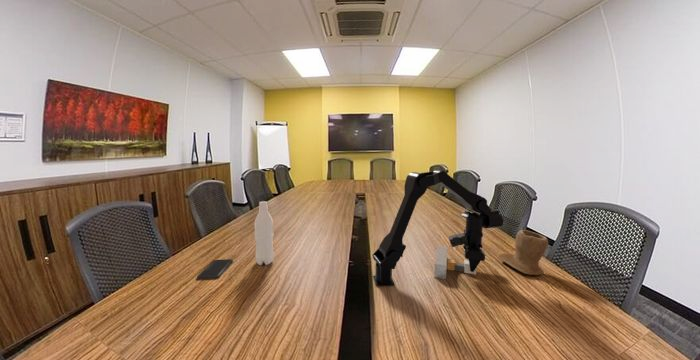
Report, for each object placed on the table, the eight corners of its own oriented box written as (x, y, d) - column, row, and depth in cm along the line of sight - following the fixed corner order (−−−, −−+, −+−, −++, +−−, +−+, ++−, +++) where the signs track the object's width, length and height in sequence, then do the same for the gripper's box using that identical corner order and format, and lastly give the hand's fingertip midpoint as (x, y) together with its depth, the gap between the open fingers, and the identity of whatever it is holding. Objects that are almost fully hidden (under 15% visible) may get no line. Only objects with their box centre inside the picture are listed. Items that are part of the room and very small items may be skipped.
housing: (434, 277, 94) (434, 263, 93) (436, 256, 112) (437, 245, 112) (446, 279, 92) (446, 265, 92) (446, 258, 111) (446, 246, 110)
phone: (233, 259, 106) (218, 276, 91) (233, 262, 106) (218, 279, 92) (213, 259, 106) (195, 277, 91) (213, 262, 106) (195, 280, 91)
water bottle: (268, 267, 101) (266, 204, 98) (251, 265, 102) (249, 203, 99) (277, 260, 108) (275, 200, 105) (261, 258, 109) (259, 200, 106)
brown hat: (553, 277, 95) (557, 237, 93) (523, 278, 94) (526, 237, 92) (523, 260, 110) (525, 225, 108) (496, 260, 109) (498, 225, 107)
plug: (447, 270, 100) (447, 261, 99) (447, 265, 103) (447, 257, 103) (475, 274, 96) (476, 265, 96) (474, 270, 100) (475, 261, 99)
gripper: (450, 220, 108) (448, 256, 110) (450, 233, 91) (448, 276, 92) (480, 223, 104) (477, 260, 106) (486, 237, 87) (483, 281, 88)
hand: (471, 269), depth 98 cm, fingers closed on plug, 4 cm apart
